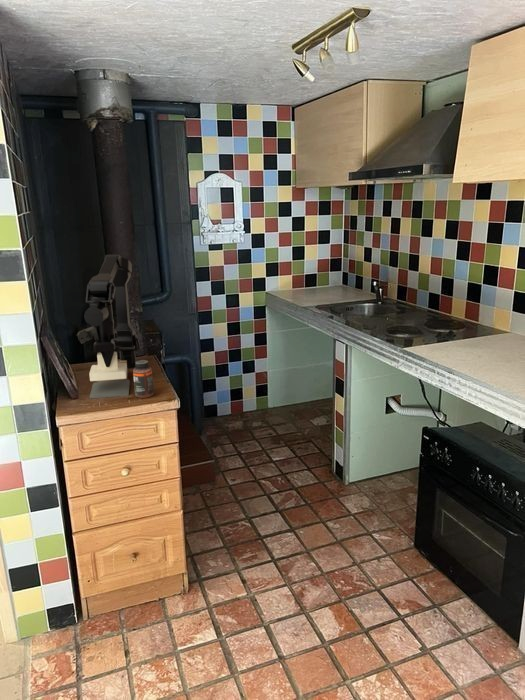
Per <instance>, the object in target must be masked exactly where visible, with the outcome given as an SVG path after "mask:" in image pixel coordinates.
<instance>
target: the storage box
mask: <svg viewBox="0 0 525 700" xmlns="http://www.w3.org/2000/svg"><path fill="white" fill-rule="evenodd" d="M118 363H127V360H124V361H120V360H118ZM96 365H98V362H97V363H96ZM128 375H129V374H128V370H127V376H126V379H114V380H101V381H96V382H107V381H120V380H128Z"/></svg>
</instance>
